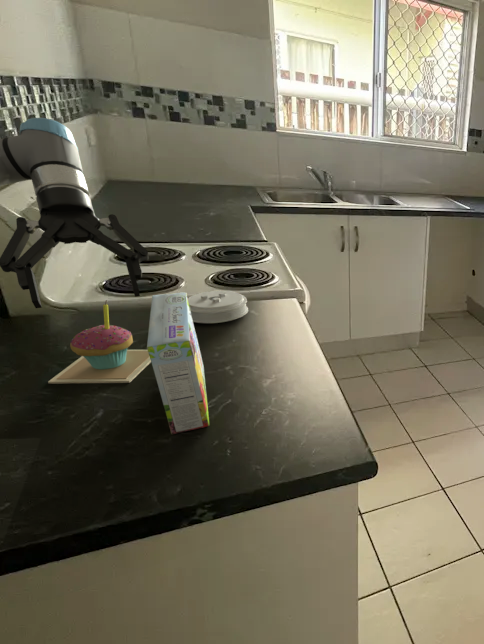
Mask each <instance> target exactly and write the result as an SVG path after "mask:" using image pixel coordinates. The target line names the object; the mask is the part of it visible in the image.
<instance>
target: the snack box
mask: <svg viewBox="0 0 484 644" xmlns="http://www.w3.org/2000/svg"><path fill="white" fill-rule="evenodd" d="M188 298H189V297H188V293H187V292H183V291H182V292H173V293H163V294H162V293H161V294H153V295H152V296H151V303H150V311H149V323H148V334H147V343H146V350H148V353H149V356H150V359H151V363H150V364H151V366H152V371H153V373H154V377H155V380H156V384H157V386H158V387H157V388H158V390H159V393H160V394H159V395H160V398H161V402H162V405H163V408H164V411H165V416H166V418H167V423H168V427H169V430H170V435H176V434H181V433H186V432H189V431H193V430H198V429H202V428H203V429H204V428H206V427H207V428H208V427H210V417H209V415H210V414H209V407H208V395H207V386H206V377H205V367H204V361H203V358H202V352H201V350H200V349H201V348H200V344H199V340H198V335H197V333H196V329H195V324H194V322H193V320H192V316H191V312H190V307H189V303H188Z"/></svg>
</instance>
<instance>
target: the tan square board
mask: <svg viewBox="0 0 484 644" xmlns="http://www.w3.org/2000/svg"><path fill="white" fill-rule="evenodd" d="M150 364H152V363H151V359H150V356H149V353H148V350H147V349H127V353H126V361H125V362H124V363H123V364H122V365H120V366H118V367H115V368H111V369H95V368H93V367H92V366H91V364H90V363H89V362H88V361H87V360H86V359H85V357H83V356H80V357H78V359H76V360H74V362H72V363H71V364H69V365H68V366H66V367H65V368H64V369H63V370H62V371H60V372H59V373H57V374H56V375H55V376H54V377H52V378H51V379H50V380H48V381H47V384H48V385H49V384H50V385H51V384H57V385H58V384H130V383H131V382H132V381H133V380H134V379H135V378H137V377H138V376H139V375H140V373H141V372H143V371H144V370H145V369H146V368H147V367H148V366H149V365H150Z"/></svg>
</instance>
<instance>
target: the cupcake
mask: <svg viewBox="0 0 484 644" xmlns="http://www.w3.org/2000/svg"><path fill="white" fill-rule="evenodd" d="M104 302H105V303H104V304H103V305H102V307H103V324H99V325H96V326H93V327H90V328H85V329H83V330H81V331H80V332H78V333H77V334H76V335H74V336H73V337H72V338H71V340H70V344H69V347H70V349H71V351H72V352H73V353H75V354H76V355H77V356H80V357H82V356H83V357H85V359H86V360H87V361H88V362H89V363H90V364H91V366H92V367H93V368H95V369H111V368H115V367H118V366H120V365H122V364H123V363H124V362H125V361H126V353H127V350H129V348H130V346H131V345H132V344H133V343H134V339H133V334H132V331H131V330H128V329H126V328H124V327H123V326H117V325H112V324H110V317H109V316H110V314H109V313H110V312H109V305H108V300H107V299H106V300H105V301H104Z"/></svg>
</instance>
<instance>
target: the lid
mask: <svg viewBox="0 0 484 644" xmlns="http://www.w3.org/2000/svg"><path fill="white" fill-rule="evenodd" d="M187 298H188V303H189V307H190V312H191V316H192V320H193V323H197V324H218V323H225V322H231V321H234V320H237V319H240V318H242V317H244V316H245V315H247V314H248V312H249V307H248V306H247V302H248V299H247V297H246V296H245V295H243V294H241V293H239V292H237V291H234V290H220V289H219V290H207V291H202V292H198V293H195V294H192V295H190V296H189V297H187Z"/></svg>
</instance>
